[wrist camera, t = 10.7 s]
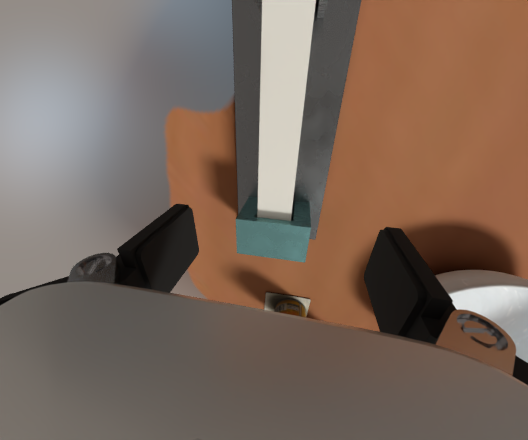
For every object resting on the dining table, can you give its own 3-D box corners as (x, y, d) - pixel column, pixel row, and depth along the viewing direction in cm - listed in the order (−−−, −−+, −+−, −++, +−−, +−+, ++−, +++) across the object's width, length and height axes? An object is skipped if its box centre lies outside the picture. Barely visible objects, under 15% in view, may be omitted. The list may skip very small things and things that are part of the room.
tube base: (226, -253, 14) (164, -542, 8) (414, -289, 13) (526, -684, 6) (239, 228, 33) (224, 257, 27) (315, 237, 32) (317, 270, 26)
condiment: (304, 322, 42) (304, 393, 32) (263, 314, 43) (251, 381, 33) (310, 298, 39) (313, 369, 28) (266, 290, 40) (252, 356, 29)
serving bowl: (534, 328, 33) (584, 377, 28) (394, 347, 41) (409, 387, 35) (526, 229, 26) (591, 265, 20) (358, 274, 34) (370, 310, 28)
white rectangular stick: (272, -18, 19) (263, -55, 14) (318, -20, 18) (322, -59, 14) (263, 216, 30) (257, 234, 26) (290, 219, 30) (288, 238, 26)
